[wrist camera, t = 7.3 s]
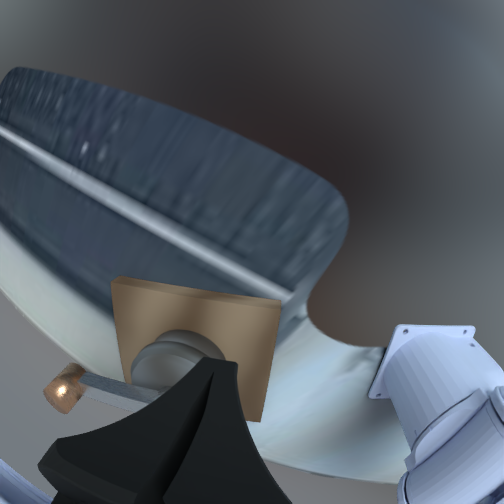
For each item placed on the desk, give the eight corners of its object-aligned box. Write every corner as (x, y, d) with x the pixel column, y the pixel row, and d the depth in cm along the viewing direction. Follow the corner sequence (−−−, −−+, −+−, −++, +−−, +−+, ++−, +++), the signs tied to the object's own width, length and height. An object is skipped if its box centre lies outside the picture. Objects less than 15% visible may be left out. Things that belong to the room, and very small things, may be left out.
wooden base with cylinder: (281, 300, 20) (280, 341, 15) (261, 411, 23) (256, 455, 18) (119, 275, 21) (80, 302, 16) (133, 384, 24) (110, 419, 19)
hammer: (183, 386, 16) (164, 429, 13) (187, 410, 17) (171, 451, 13) (67, 356, 17) (39, 384, 13) (75, 379, 18) (50, 407, 14)
